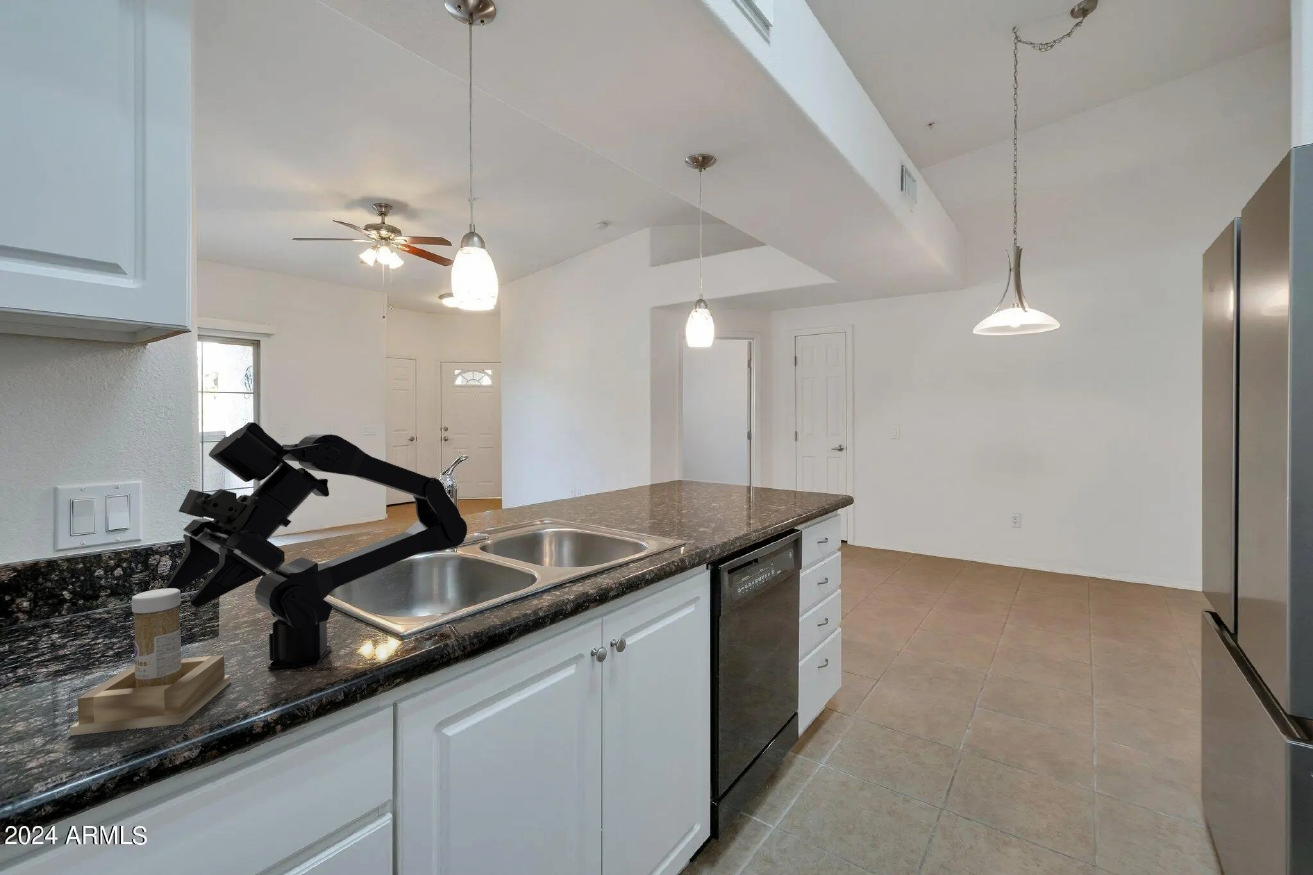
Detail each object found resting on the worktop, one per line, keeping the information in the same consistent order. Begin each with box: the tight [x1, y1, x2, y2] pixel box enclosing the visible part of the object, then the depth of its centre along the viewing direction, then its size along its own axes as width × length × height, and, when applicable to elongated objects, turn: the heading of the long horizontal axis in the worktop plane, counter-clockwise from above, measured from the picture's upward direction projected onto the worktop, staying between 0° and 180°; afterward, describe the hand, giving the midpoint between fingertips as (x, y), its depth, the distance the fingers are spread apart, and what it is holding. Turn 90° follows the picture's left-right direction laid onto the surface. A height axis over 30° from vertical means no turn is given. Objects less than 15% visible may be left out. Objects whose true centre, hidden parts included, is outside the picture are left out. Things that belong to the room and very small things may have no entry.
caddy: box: [69, 654, 232, 737], centre depth 70 cm, size 11×11×4 cm
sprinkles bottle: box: [131, 588, 182, 688], centre depth 70 cm, size 5×5×13 cm
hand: (180, 598), depth 72 cm, fingers open, 9 cm apart
